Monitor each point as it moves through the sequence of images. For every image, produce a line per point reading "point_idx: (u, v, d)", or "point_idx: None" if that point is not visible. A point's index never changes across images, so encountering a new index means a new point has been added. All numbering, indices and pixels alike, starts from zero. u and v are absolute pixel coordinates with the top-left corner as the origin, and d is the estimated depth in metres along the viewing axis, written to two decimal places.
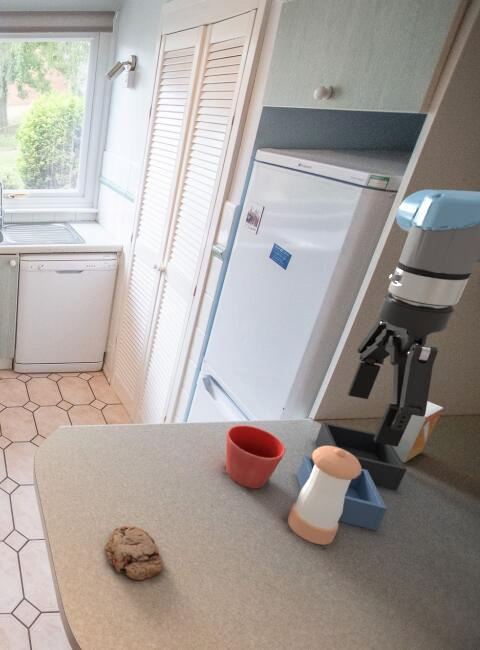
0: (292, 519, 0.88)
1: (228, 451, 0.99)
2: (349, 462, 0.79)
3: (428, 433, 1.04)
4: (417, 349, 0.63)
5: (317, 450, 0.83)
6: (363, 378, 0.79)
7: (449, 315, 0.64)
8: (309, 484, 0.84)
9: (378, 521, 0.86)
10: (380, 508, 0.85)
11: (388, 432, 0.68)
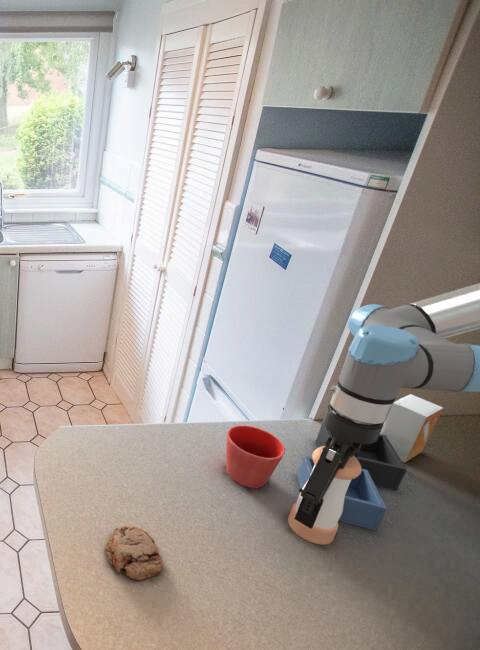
0: (292, 519, 0.88)
1: (228, 451, 0.99)
2: (349, 462, 0.79)
3: (428, 433, 1.04)
4: (325, 449, 0.76)
5: (317, 450, 0.83)
6: None
7: (368, 432, 0.74)
8: None
9: (378, 521, 0.86)
10: (380, 508, 0.85)
11: (303, 513, 0.81)
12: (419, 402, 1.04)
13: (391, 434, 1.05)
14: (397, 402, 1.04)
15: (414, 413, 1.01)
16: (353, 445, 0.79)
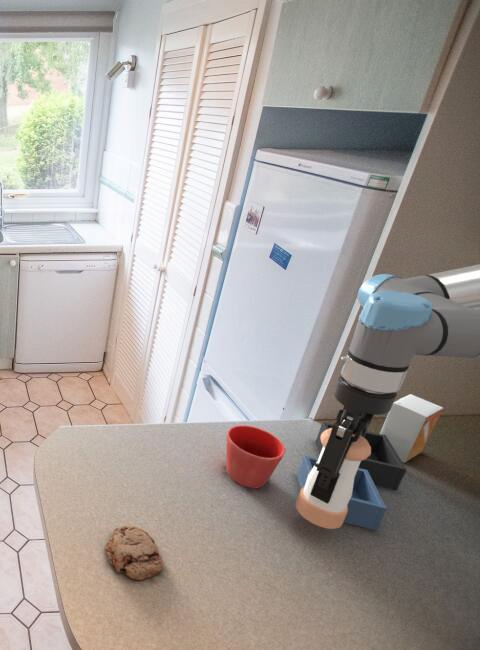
0: (300, 504, 0.86)
1: (228, 451, 0.99)
2: (359, 443, 0.77)
3: (428, 433, 1.04)
4: (334, 428, 0.75)
5: (325, 432, 0.81)
6: None
7: (381, 401, 0.72)
8: None
9: (378, 521, 0.86)
10: (380, 508, 0.85)
11: (319, 488, 0.81)
12: (419, 402, 1.04)
13: (391, 434, 1.05)
14: (397, 402, 1.04)
15: (414, 413, 1.01)
16: (365, 417, 0.77)
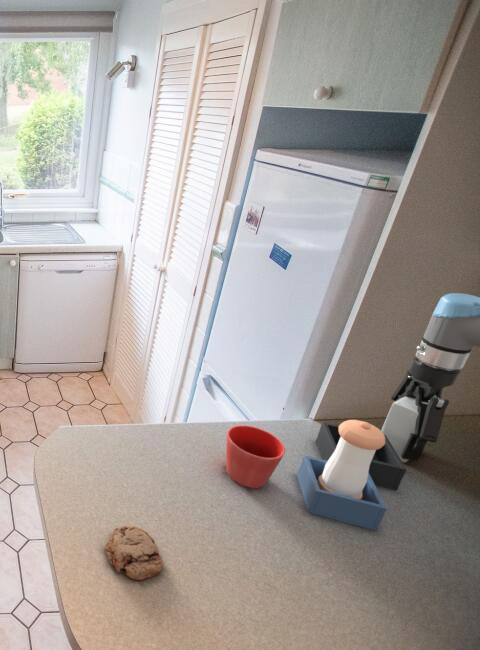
0: None
1: (228, 451, 0.99)
2: (374, 434, 0.85)
3: None
4: (435, 401, 0.96)
5: (343, 424, 0.88)
6: None
7: (457, 375, 0.96)
8: (335, 456, 0.90)
9: (378, 521, 0.86)
10: (380, 508, 0.85)
11: (411, 451, 1.02)
12: None
13: (391, 434, 1.05)
14: (397, 402, 1.04)
15: (414, 413, 1.01)
16: None
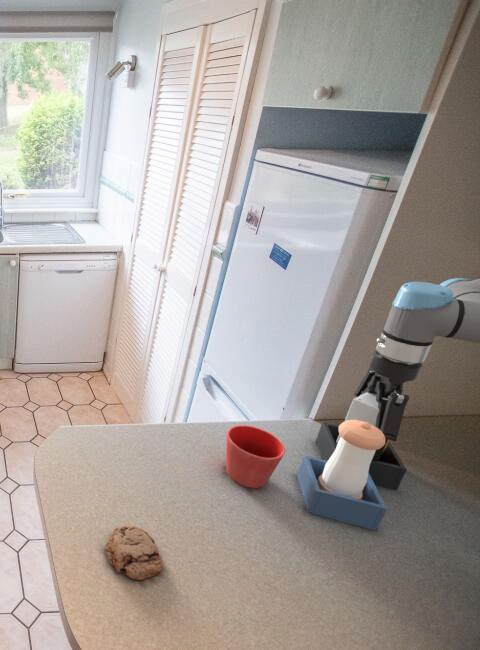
0: None
1: (228, 451, 0.99)
2: (374, 434, 0.85)
3: None
4: (394, 396, 0.90)
5: (343, 424, 0.88)
6: None
7: (418, 369, 0.90)
8: (335, 456, 0.90)
9: (378, 521, 0.86)
10: (380, 508, 0.85)
11: None
12: None
13: None
14: (357, 398, 0.98)
15: (374, 410, 0.95)
16: None
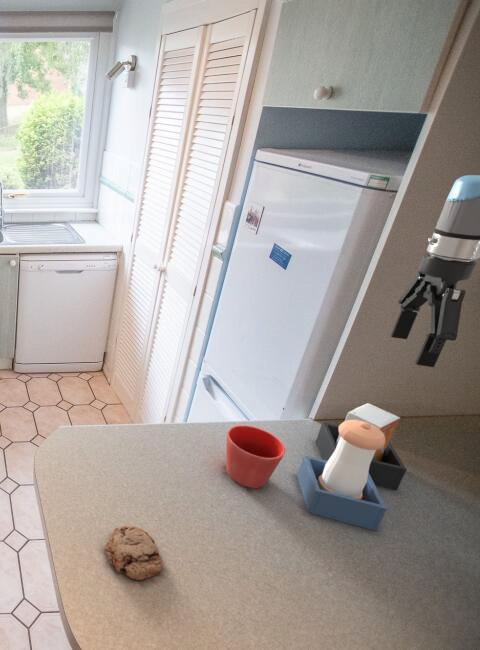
0: None
1: (228, 451, 0.99)
2: (374, 434, 0.85)
3: (385, 444, 0.99)
4: (450, 291, 0.87)
5: (343, 424, 0.88)
6: (403, 322, 1.02)
7: (473, 267, 0.87)
8: (335, 456, 0.90)
9: (378, 521, 0.86)
10: (380, 508, 0.85)
11: (427, 356, 0.91)
12: (376, 411, 0.99)
13: None
14: (352, 411, 1.00)
15: None
16: None
